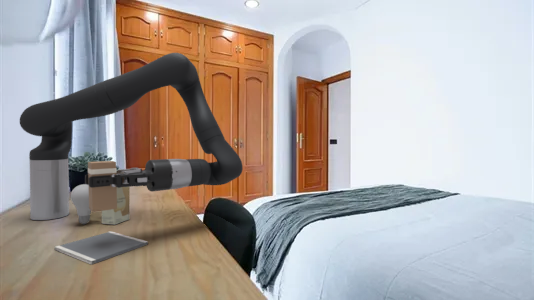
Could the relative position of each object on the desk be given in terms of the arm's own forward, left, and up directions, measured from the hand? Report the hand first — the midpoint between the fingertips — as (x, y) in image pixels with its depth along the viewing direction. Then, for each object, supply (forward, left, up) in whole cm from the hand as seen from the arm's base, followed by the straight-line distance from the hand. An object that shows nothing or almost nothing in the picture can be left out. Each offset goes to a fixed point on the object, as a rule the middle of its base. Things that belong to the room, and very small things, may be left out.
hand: (87, 180), depth 59 cm
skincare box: (-15, +15, -15) cm, 26 cm away
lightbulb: (-20, +9, -15) cm, 27 cm away
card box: (+1, +3, -6) cm, 7 cm away
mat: (+1, +2, -15) cm, 15 cm away
